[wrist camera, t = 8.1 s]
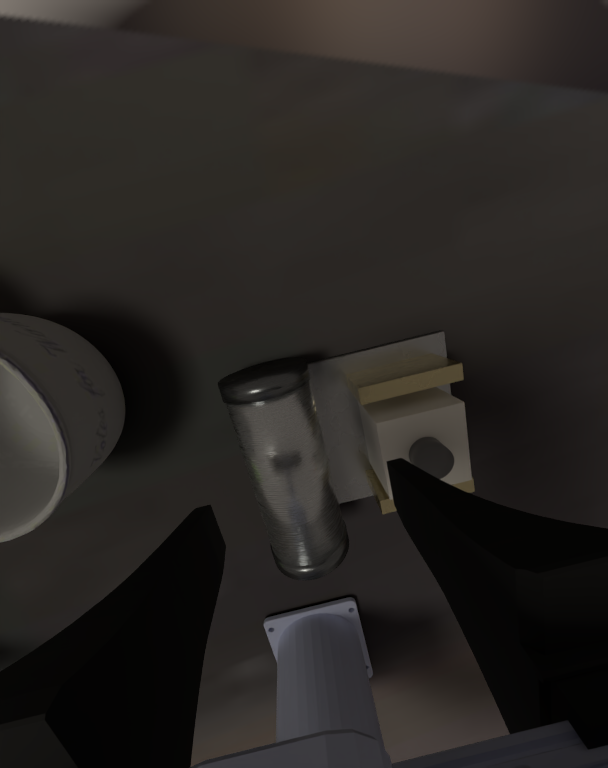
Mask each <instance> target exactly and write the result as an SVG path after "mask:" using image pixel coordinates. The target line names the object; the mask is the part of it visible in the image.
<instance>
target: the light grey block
mask: <svg viewBox="0 0 608 768" xmlns="http://www.w3.org/2000/svg"><path fill="white" fill-rule="evenodd" d="M358 405H359V410H360V415H361V420H362V426H363V431H364V436H365V441H366V446H367V451H368V456H369V461H370V464H371V466H372V468H373V469H374V471H375V473H376V475H377V477H378V479H379V480H380V482H381V484H382V486H383V488H384V490H385V491H386V493H387V495H388V497H389V499H390V500H392V499H393V495H392V490H391V484H390V479H389V473H388V468H387V462H386V461H390V460H394V459H398V458H403V459H404V460H406V461H408V462H410V463H411V464H413V465H415V466H417V467H418V468H420V469H422V470H424V471H425V472H427V473H429V474H431V475H433V476H434V477H436V478H438V479H440V480H442V481H444V482H446V483H448V484H450V485H453V484H457V483H461V482H465V481H469V480H472V476H471V465H470V455H469V445H468V434H467V424H466V414H465V404H464V402H463V401H461V400H459V399H458V398H456V397H454V396H452V395H450V394H448V393H446V392H445V391H443V390H441V389H439V388H437V387H433V388H429V389H425V390H421V391H417V392H413V393H408V394H404V395H400V396H396V397H392V398H388V399H384V400H380V401H376V402H372V403H368V404H364V405H361V404H360V403H359V402H358Z"/></svg>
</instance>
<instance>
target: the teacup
mask: <svg viewBox="0 0 608 768" xmlns="http://www.w3.org/2000/svg"><path fill="white" fill-rule="evenodd" d="M124 420H125V400H124V395H123V391H122V387H121V384H120V382H119V380H118V377H117V375H116V373H115V372H114V370H113V368H112V367H111V365H110V364H109V363H108V361H107V360H106V359H105V357H104V356H103V355H102V354H101V353H100V352H99V351H98V350H97V349H96V348H95V347H94V346H93V345H92V344H91V343H89V342H88V341H87V340H86V339H84V338H83V337H82V336H80V335H78V334H77V333H75V332H74V331H72V330H70V329H68V328H66V327H64V326H62V325H59V324H57V323H54V322H52V321H49V320H46V319H42V318H39V317H34V316H29V315H23V314H13V313H0V542H4V541H9V540H12V539H14V538H17V537H19V536H22V535H24V534H26V533H28V532H30V531H32V530H34V529H35V528H37V527H38V526H39V525H40V524H42V523H43V522H44V521H45V520H46V519H47V518H49V517H50V516H51V515H52V514H53V513H54V511H55V510H56V509H57V507H58V506H59V505H60V503H61V502H62V501H63V500H64V499H65V498H66V497H68V496H69V495H70V494H71V493H72V492H73V491H74V490H75V489H76V488H77V487H79V486H80V485H81V484H82V483H83V482H84V481H85V480H86V479H87V478H88V477H89V476H90V475H91V474H92V473H93V472H94V471H95V470H96V469H97V468H98V467H99V466H100V465H101V464H102V463H103V462H104V460H105V459H106V458H107V457H108V456H109V454H110V453H111V452H112V450H113V449H114V447H115V445H116V444H117V441H118V439H119V437H120V435H121V433H122V429H123V426H124Z"/></svg>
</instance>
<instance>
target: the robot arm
mask: <svg viewBox="0 0 608 768" xmlns="http://www.w3.org/2000/svg"><path fill="white" fill-rule="evenodd" d="M386 462H387V468H388V473H389V479H390V484H391V490H392V495H393V501H394V505H395V507H396V510H397V512H398V514H399V516H400V519H401V521H402V523H403V525H404V527H405V529H406V531H407V532H408V534H409V536H410V537H411V539H412V541H413V542H414V544H415V546H416V547H417V549H418V551H419V552H420V554H421V555H422V557H423V559H424V560H425V562H426V564H427V565H428V567H429V569H430V570H431V572H432V573H433V575H434V577H435V578H436V580H437V582H438V584H439V585H440V587H441V589H442V591H443V593H444V594H445V596H446V598H447V600H448V602H449V604H450V607H451V609H452V611H453V613H454V615H455V617H456V619H457V621H458V623H459V625H460V627H461V629H462V631H463V633H464V635H465V637H466V639H467V641H468V644H469V646H470V648H471V650H472V652H473V654H474V656H475V658H476V660H477V663H478V665H479V667H480V669H481V671H482V673H483V675H484V678H485V680H486V682H487V684H488V686H489V688H490V691H491V693H492V695H493V697H494V699H495V701H496V704H497V706H498V708H499V710H500V713H501V715H502V717H503V719H504V721H505V724H506V726H507V728H508V730H509V733H510V734H509V735H505V736H501V737H497V738H493V739H489V740H485V741H481V742H477V743H473V744H469V745H465V746H461V747H457V748H453V749H449V750H445V751H441V752H437V753H433V754H429V755H425V756H421V757H417V758H413V759H409V760H405V761H401V762H397V763H393V764H391V760H390V756H389V755H388V753H387V752H386V751H385V747H384V743H383V739H382V734H381V730H380V725H379V721H378V717H377V712H376V708H375V703H374V699H373V695H372V690H371V686H370V681H369V678H371V677H372V676H373V671H372V667H371V663H370V659H369V654H368V650H367V646H366V642H365V638H364V634H363V630H362V626H361V622H360V618H359V614H358V610H357V606H356V602H355V599H354V598H352V597H348V598H344V599H340V600H336V601H332V602H328V603H324V604H319V605H315V606H311V607H307V608H303V609H299V610H295V611H291V612H287V613H283V614H279V615H275V616H271V617H268V618H266V619H265V620H264V628H265V631H266V633H267V636H268V639H269V642H270V644H271V647H272V650H273V653H274V656H275V658H276V661H277V716H276V743H273V744H269V745H265V746H261V747H257V748H253V749H249V750H245V751H241V752H237V753H233V754H229V755H225V756H221V757H217V758H213V759H209V760H205V761H203V762H201V763H199V764H196V765H194V766H192V767H190V765H191V755H192V746H193V736H194V727H195V719H196V711H197V703H198V695H199V687H200V681H201V674H202V667H203V660H204V654H205V649H206V644H207V639H208V634H209V630H210V626H211V622H212V618H213V613H214V609H215V605H216V601H217V597H218V592H219V588H220V584H221V580H222V575H223V569H224V561H225V550H226V545H225V542H224V540H223V537H222V534H221V532H220V529H219V526H218V523H217V521H216V518H215V515H214V513H213V510H212V507H211V505H207V506H203V507H199V508H196V509H194V510H193V511H192V512H191V513H190V514H189V515H188V516H187V517H186V518H185V519H184V521H183V522H182V523H181V524H180V525H179V526H178V527H177V528H176V529H175V530H174V531H173V532H172V533H171V535H170V536H169V537H168V538H167V539H166V540H165V541H164V542H163V543H162V544H161V545H160V546H159V547H158V548H157V549H156V550H155V551H154V552H153V553H152V554H151V555H150V556H149V557H148V558H147V559H146V560H145V561H144V562H143V563H142V564H141V565H140V566H139V567H138V568H137V569H136V570H135V571H134V572H133V573H132V574H131V575H130V576H129V577H128V578H127V579H126V580H125V581H124V582H122V583H121V584H120V585H119V586H118V587H117V588H116V589H114V590H113V591H112V592H111V593H110V594H109V595H107V596H106V597H105V598H104V599H103V600H101V601H100V602H99V603H98V604H96V605H95V606H94V607H92V608H91V609H90V610H89V611H87V612H86V613H85V614H84V615H82V616H81V617H80V618H78V619H77V620H76V621H75V622H73V623H72V624H71V625H69V626H68V627H67V628H65V629H64V630H62V631H61V632H60V633H58V634H57V635H55V636H54V637H53V638H51V639H50V640H48V641H47V642H45V643H44V644H42V645H41V646H39V647H38V648H37V649H35V650H34V651H32V652H31V653H29V654H28V655H26V656H25V657H23V658H22V659H20V660H18V661H17V662H15V663H14V664H12V665H10V666H9V667H7V668H6V669H4V670H2V671H1V672H0V768H608V529H606V528H600V527H594V526H588V525H581V524H575V523H570V522H565V521H560V520H555V519H551V518H546V517H542V516H538V515H534V514H530V513H526V512H523V511H519V510H516V509H512V508H509V507H506V506H503V505H500V504H496V503H494V502H491V501H488V500H485V499H483V498H480V497H477V496H475V495H472V494H470V493H468V492H465V491H463V490H461V489H459V488H457V487H454V486H452V485H450V484H448V483H446V482H444V481H442V480H440V479H438V478H436V477H434V476H433V475H431V474H429V473H427V472H425V471H424V470H422V469H420V468H418V467H417V466H415V465H413V464H411V463H410V462H408V461H406V460H404V459H403V458H398V459H394V460H390V461H386Z"/></svg>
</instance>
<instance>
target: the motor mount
mask: <svg viewBox="0 0 608 768" xmlns="http://www.w3.org/2000/svg"><path fill="white" fill-rule="evenodd" d="M461 380H464V377H463V367H462V363H460V362H457V361H454V360H451V359H448V358H447V353H446V344H445V335H444V331H436V332H432V333H428V334H424V335H420V336H416V337H412V338H408V339H404V340H399V341H395V342H391V343H387V344H383V345H379V346H375V347H371V348H367V349H363V350H359V351H355V352H350V353H346V354H342V355H338V356H334V357H330V358H326V359H322V360H318V361H314V362H310V363H307V360H306V359H304V358H287V359H280V360H275V361H270V362H266V363H262V364H258V365H255V366H251V367H248V368H245V369H242V370H240V371H237V372H235V373H232V374H230V375H228V376H226V377H224V378H223V379H221V380H220V381H219V382H218V387H219V390H220V393H221V396H222V399H223V402H224V403H226V405H227V409H228V412H229V415H230V418H231V421H232V424H233V427H234V430H235V433H236V437H237V440H238V443H239V446H240V449H241V452H242V455H243V458H244V461H245V464H246V468H247V471H248V474H249V477H250V480H251V483H252V486H253V489H254V492H255V496H256V499H257V502H258V505H259V508H260V511H261V514H262V517H263V520H264V523H265V527H266V530H267V533H268V536H269V539H270V542H271V550H272V553H273V557H274V560H275V563H276V565H277V567H278V569H279V570H280V571H281V572H282V573H283V574H284V575H286V576H288V577H289V578H292V579H296V580H312V579H317V578H320V577H322V576H325V575H327V574H329V573H330V572H332V571H333V570H334V569H336V568H337V567H338V566H339V565H340V564H341V562H342V561H343V560H344V558H345V556H346V554H347V552H348V548H349V538H348V533H347V529H346V525H345V522H344V520H343V519H342V515H341V510H340V506H339V504H340V503H344V502H348V501H353V500H357V499H361V498H365V497H369V496H373V495H374V497H375V499H376V501H377V504H378V506H379V508H380V510H381V512H382V514H386V513H390V512H394V511H397V510H396V507H395V505H394V501H393V499H392V500H390V499H389V497H388V495H387V493H386V491H385V490H384V488H383V486H382V484H381V482H380V480H379V479H378V477H377V475H376V473H375V471H374V469H373V468H372V466H371V464H370V461H369V456H368V451H367V446H366V441H365V436H364V431H363V426H362V420H361V415H360V410H359V405H358V402H359V403H360V404H361V405H364V404H368V403H372V402H376V401H380V400H384V399H388V398H392V397H396V396H400V395H404V394H408V393H413V392H417V391H421V390H425V389H429V388H433V387H437V388H439V389H441V390H443V391H445V392H446V393H448V394H450V395H451V389H450V383H453V382H457V381H461ZM452 486H454V487H457V488H459V489H461V490H463V491H465V492H468V493H471V492H475V490H474V480H473V477H472V480H469V481H465V482H461V483H457V484H453V485H452Z"/></svg>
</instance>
